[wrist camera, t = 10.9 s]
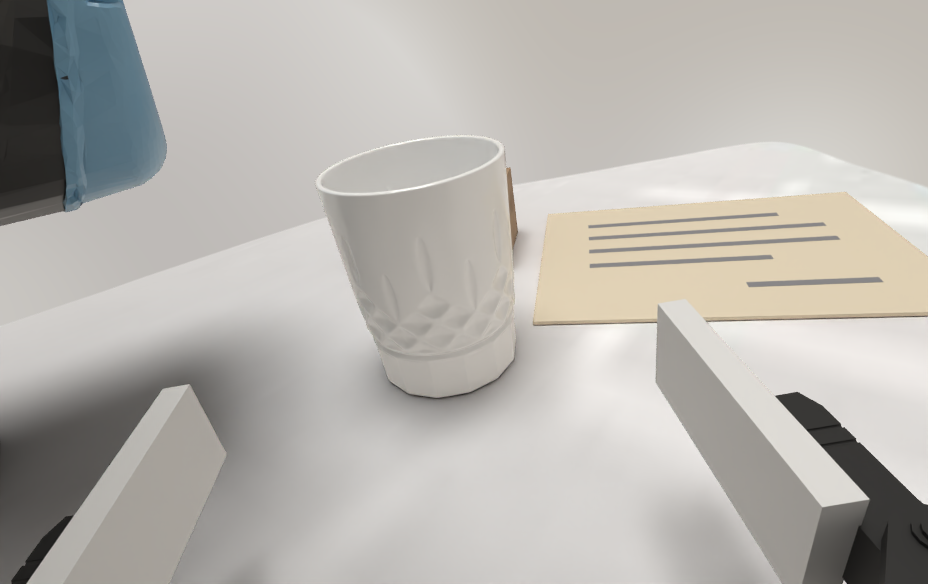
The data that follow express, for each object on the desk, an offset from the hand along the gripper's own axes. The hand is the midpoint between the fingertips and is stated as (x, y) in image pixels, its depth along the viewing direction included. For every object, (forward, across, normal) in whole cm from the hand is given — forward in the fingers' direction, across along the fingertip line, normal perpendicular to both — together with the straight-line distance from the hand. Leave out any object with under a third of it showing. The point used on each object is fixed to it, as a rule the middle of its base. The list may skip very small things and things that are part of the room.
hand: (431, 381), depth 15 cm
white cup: (+10, 0, +6) cm, 12 cm away
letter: (+16, -16, +6) cm, 23 cm away
